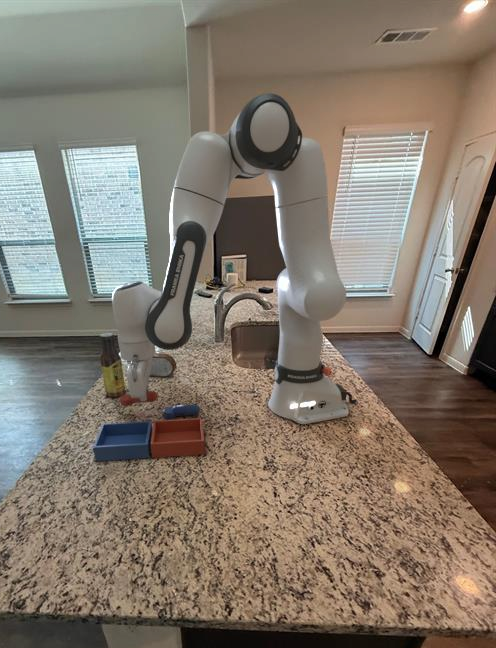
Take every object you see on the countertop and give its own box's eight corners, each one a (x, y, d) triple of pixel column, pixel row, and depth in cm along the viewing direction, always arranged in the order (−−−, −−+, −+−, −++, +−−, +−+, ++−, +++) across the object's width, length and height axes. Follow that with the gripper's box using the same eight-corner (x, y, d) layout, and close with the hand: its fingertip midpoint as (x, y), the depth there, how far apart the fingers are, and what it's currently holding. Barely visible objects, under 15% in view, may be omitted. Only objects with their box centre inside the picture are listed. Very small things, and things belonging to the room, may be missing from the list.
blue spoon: (199, 410, 91) (199, 401, 90) (200, 417, 88) (199, 408, 87) (164, 412, 91) (163, 403, 89) (163, 419, 88) (162, 410, 86)
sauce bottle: (120, 399, 98) (110, 338, 89) (102, 397, 99) (90, 337, 90) (129, 389, 104) (120, 331, 95) (112, 387, 105) (101, 330, 96)
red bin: (202, 430, 83) (201, 417, 81) (204, 454, 74) (204, 440, 72) (155, 433, 82) (153, 420, 80) (152, 457, 73) (150, 444, 71)
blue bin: (152, 433, 82) (151, 420, 80) (149, 457, 73) (147, 444, 71) (104, 436, 81) (102, 423, 79) (95, 461, 73) (92, 447, 71)
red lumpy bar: (158, 397, 88) (157, 388, 87) (157, 404, 85) (156, 394, 84) (121, 400, 88) (120, 390, 86) (119, 406, 85) (117, 397, 83)
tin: (177, 374, 113) (175, 353, 109) (175, 378, 110) (173, 356, 106) (138, 372, 115) (135, 351, 112) (134, 376, 113) (131, 354, 109)
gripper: (146, 364, 70) (153, 415, 77) (153, 335, 88) (158, 378, 95) (117, 366, 70) (127, 417, 76) (130, 336, 88) (137, 380, 94)
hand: (144, 395), depth 86 cm, fingers closed on red lumpy bar, 3 cm apart
